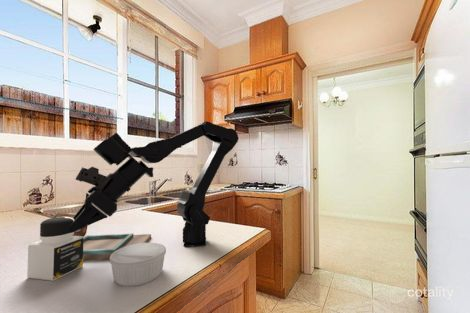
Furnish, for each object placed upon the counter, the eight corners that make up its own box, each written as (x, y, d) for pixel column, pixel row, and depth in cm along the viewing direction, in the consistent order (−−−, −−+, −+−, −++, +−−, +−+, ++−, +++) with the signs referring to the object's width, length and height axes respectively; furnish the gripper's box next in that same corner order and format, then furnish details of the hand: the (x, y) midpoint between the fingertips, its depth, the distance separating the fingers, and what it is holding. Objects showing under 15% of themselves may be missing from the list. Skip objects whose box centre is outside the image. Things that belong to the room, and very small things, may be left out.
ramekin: (105, 295, 41) (106, 266, 41) (112, 269, 51) (112, 246, 51) (168, 282, 45) (168, 256, 45) (163, 261, 55) (163, 239, 56)
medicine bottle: (53, 281, 46) (55, 222, 46) (26, 278, 47) (28, 221, 47) (83, 266, 52) (84, 215, 53) (59, 263, 54) (60, 214, 54)
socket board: (151, 237, 73) (151, 231, 73) (134, 257, 57) (135, 248, 58) (86, 240, 71) (86, 233, 71) (51, 261, 55) (51, 252, 55)
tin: (49, 237, 74) (50, 212, 75) (60, 235, 77) (60, 210, 78) (79, 243, 69) (79, 215, 69) (89, 240, 72) (89, 213, 72)
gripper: (98, 157, 63) (46, 199, 56) (101, 154, 47) (29, 211, 41) (128, 183, 67) (82, 226, 60) (139, 188, 51) (80, 246, 45)
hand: (70, 226), depth 51 cm, fingers open, 9 cm apart
